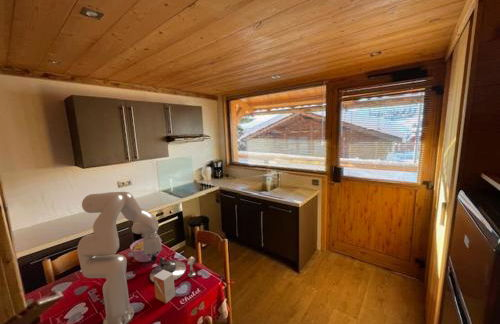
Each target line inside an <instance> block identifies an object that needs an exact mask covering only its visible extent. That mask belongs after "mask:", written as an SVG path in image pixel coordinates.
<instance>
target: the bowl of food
mask: <svg viewBox="0 0 500 324" xmlns="http://www.w3.org/2000/svg"><path fill="white" fill-rule="evenodd" d="M143 239H144V237H142V238H140V239H138V240H135V241H134V242H132V244H130V246H129V250H130V252H131V254H132V256H133V258H134V260H135V261H137V262H140V263H148V262H150V261H151V257H150V256H148V255H144V250H143ZM160 242H161V243H162V238H161V237H160ZM159 253H160V252H158V254H157V255H156V258H157V256H158V255H159ZM152 254H153V256H154V253H152ZM151 262H152V261H151Z"/></svg>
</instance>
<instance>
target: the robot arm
mask: <svg viewBox="0 0 500 324" xmlns="http://www.w3.org/2000/svg"><path fill="white" fill-rule="evenodd" d="M81 207H82V210H83V211H84V212H85V213H90V214H98V213H99V215H98V216H97V217H96V219H95V220H94V223H93V225H92V229H93V233H90V234H86V235H84V236H83V237H82V238H81V239H80V240H79V242H78V244H77V247H76V248H77V250H76V251H77V257H78V261H79V266H80V269H81V273H82V275H83V276H84V277H85V278H87V279H106V281H105V282H104V283H103V286H102V294H103V302H104V309H105V315H106V316H105V318H104V319H103V322H102V324H129V323H130V321H131V320H132V319H133V317H134V316H135V309H134V308H133V306H131V305H130V298H129V297H130V296H129V288H128V281H127V263H128V261H127V260H128V259H127V258H126V256H125V255H122V254H118V253H117V252H118V251H119V249H120V238H119V232H118V229H117V219H118V217H119V215H120V213H121V215H123V216H124V218H125V219H126V220H128V221H131V222H134V223H133V224H132V226H131V232H132V233H133V234H136V235H141V237H142V239H143V238H144V239H143V250H144V255H148V256H150V257H151V262H152V263H153V264H154V263H156V261H157V257H156V255H157V254H158V252H159V253H160V252H162V251H163V249H162V241H161V242H160V238H161V237H160V235H159V234H158V230H159V227H160V223H159V221H158V219H157V218H156V215H154V214H153V213H152V212H151V211H150V212H149V211H148V210H146V209H144V208H141V206H140V205H139V204H138V202H137V201H136V199H135V197H134V196H133V195H132V193H131V192H128V191H112V192H111V191H110V192H104V193H92V194H88V195H86V196H85V197H84V198H83V200H82V201H81ZM116 253H117V254H116ZM152 253H154V256H153V254H152ZM158 255H159V254H158ZM158 255H157V256H158Z"/></svg>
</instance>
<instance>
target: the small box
mask: <svg viewBox="0 0 500 324" xmlns="http://www.w3.org/2000/svg"><path fill="white" fill-rule="evenodd" d="M153 284H154V293H155V299H157V300H158V301H161V302H162V303H164V304H167V303H168V302H170V301H171V300H172V299H173V298H174V297H175V296H176V287H175V281H174V277H173V273H171V272H169V271H166V270H162V271H160V272H159V273H157V274H156V275H154V282H153Z"/></svg>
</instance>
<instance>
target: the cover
mask: <svg viewBox="0 0 500 324" xmlns="http://www.w3.org/2000/svg"><path fill="white" fill-rule="evenodd" d="M176 261H177V260H175V259H169V260H167V261H164V262H165V263H164V270H166V271H169V272H171V273H172V272H174V271H175V270H176Z"/></svg>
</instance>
